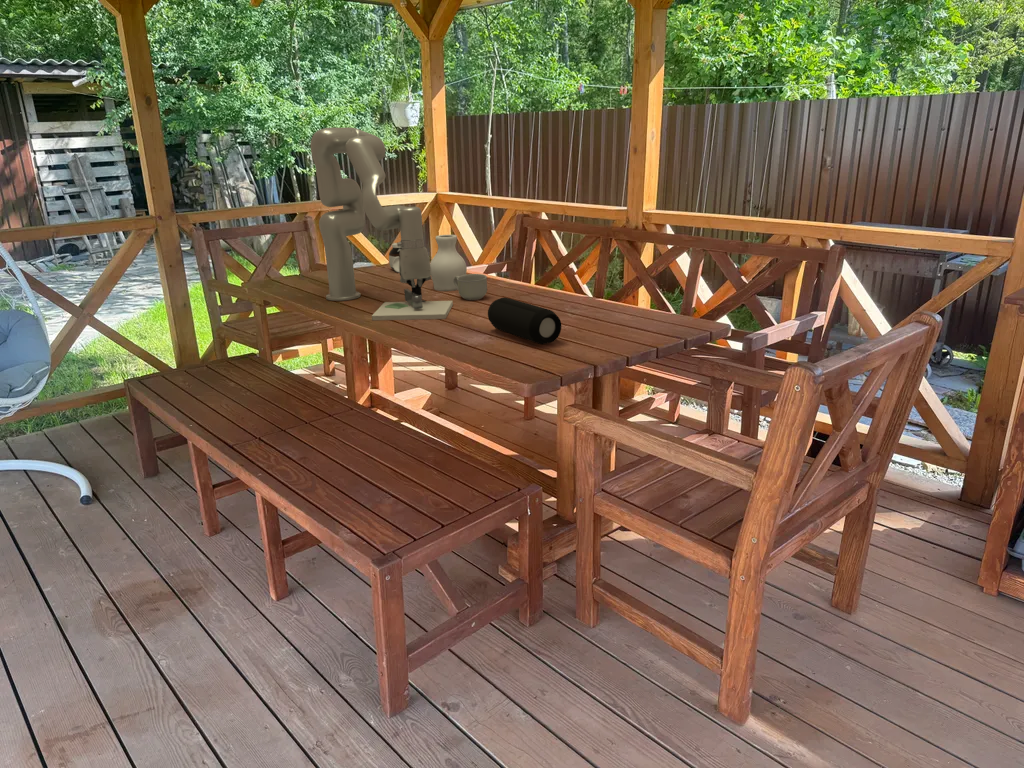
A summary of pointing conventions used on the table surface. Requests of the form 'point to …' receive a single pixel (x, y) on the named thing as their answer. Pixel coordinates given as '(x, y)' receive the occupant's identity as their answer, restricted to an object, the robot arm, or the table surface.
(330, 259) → the robot arm
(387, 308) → the dial board
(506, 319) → the portable speaker
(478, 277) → the teacup
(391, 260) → the spread jar
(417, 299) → the grey rectangular bar
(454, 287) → the vase
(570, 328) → the table surface
